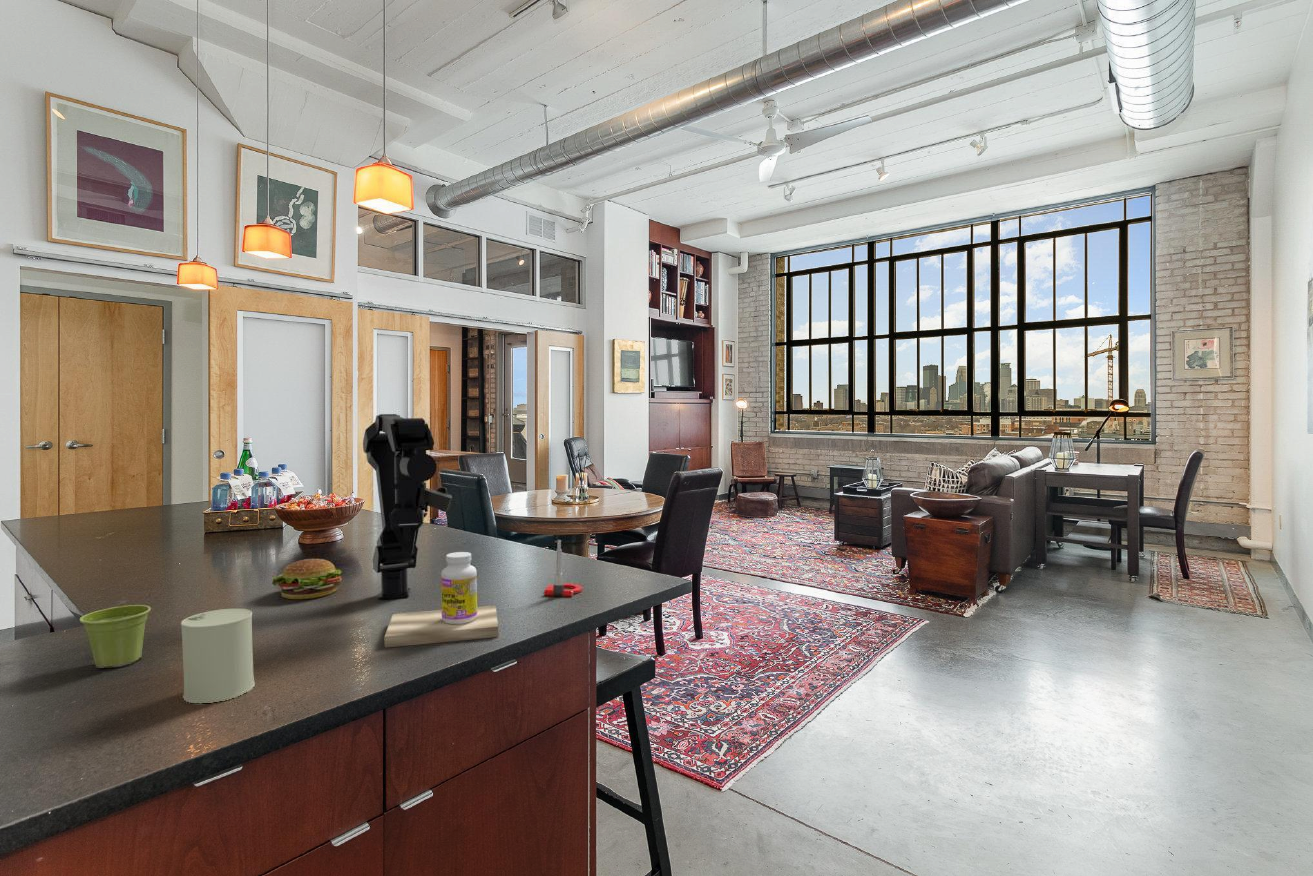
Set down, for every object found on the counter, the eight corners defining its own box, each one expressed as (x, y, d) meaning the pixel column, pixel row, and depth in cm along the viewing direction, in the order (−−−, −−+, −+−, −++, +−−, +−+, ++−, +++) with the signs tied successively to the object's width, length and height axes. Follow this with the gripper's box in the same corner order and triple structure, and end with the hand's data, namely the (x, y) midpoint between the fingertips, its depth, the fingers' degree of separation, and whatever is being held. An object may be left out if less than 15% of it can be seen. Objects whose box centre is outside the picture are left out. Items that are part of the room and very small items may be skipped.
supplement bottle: (434, 624, 127) (433, 557, 127) (453, 613, 134) (452, 550, 133) (466, 626, 126) (465, 559, 125) (483, 615, 132) (482, 551, 132)
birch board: (393, 623, 134) (393, 613, 134) (495, 614, 139) (495, 605, 139) (384, 647, 121) (384, 636, 120) (498, 636, 126) (498, 626, 126)
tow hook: (552, 587, 162) (539, 596, 153) (552, 534, 162) (540, 540, 153) (585, 589, 161) (575, 598, 152) (586, 535, 161) (576, 541, 152)
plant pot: (95, 678, 107) (92, 625, 107) (72, 666, 112) (70, 615, 112) (162, 659, 115) (160, 610, 115) (138, 649, 120) (136, 602, 120)
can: (205, 680, 106) (203, 606, 106) (266, 678, 107) (264, 604, 107) (168, 706, 97) (165, 624, 97) (235, 703, 98) (232, 622, 97)
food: (310, 583, 166) (309, 551, 166) (353, 588, 161) (352, 556, 161) (259, 598, 153) (258, 563, 153) (305, 604, 148) (304, 569, 148)
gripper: (447, 481, 133) (449, 558, 134) (450, 472, 151) (452, 540, 152) (388, 483, 131) (390, 562, 131) (398, 474, 149) (400, 543, 149)
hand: (411, 551), depth 141 cm, fingers open, 9 cm apart
